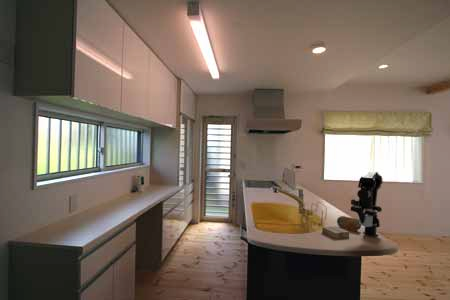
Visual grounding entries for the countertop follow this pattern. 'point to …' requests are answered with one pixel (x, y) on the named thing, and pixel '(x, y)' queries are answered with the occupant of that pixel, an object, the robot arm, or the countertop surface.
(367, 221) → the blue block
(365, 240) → the countertop surface
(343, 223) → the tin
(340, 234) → the walnut block
